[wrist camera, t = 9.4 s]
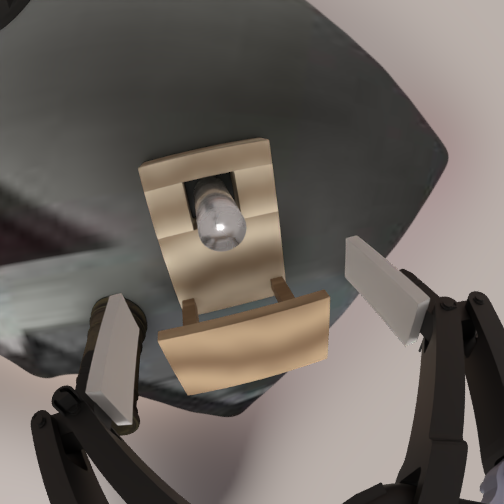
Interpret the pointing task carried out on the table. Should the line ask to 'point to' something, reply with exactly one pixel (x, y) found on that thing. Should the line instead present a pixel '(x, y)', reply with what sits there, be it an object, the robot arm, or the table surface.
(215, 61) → the table surface
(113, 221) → the table surface
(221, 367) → the socket station
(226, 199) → the peg
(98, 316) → the container
